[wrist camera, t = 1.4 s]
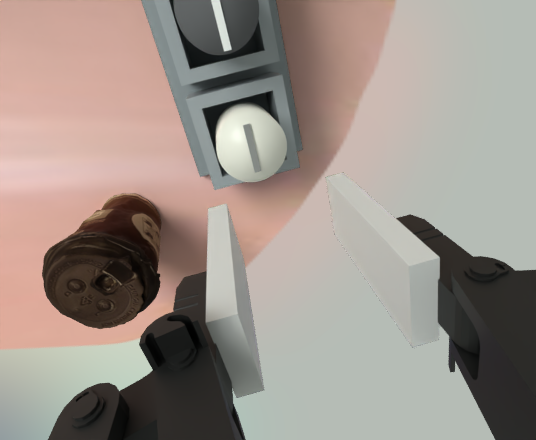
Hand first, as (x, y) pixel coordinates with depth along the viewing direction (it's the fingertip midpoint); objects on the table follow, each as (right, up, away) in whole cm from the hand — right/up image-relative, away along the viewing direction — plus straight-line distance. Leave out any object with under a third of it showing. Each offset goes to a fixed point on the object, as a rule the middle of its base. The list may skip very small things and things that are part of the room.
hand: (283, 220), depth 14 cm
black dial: (-5, +16, +12) cm, 20 cm away
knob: (-3, +8, +16) cm, 18 cm away
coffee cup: (-15, 0, +23) cm, 28 cm away
